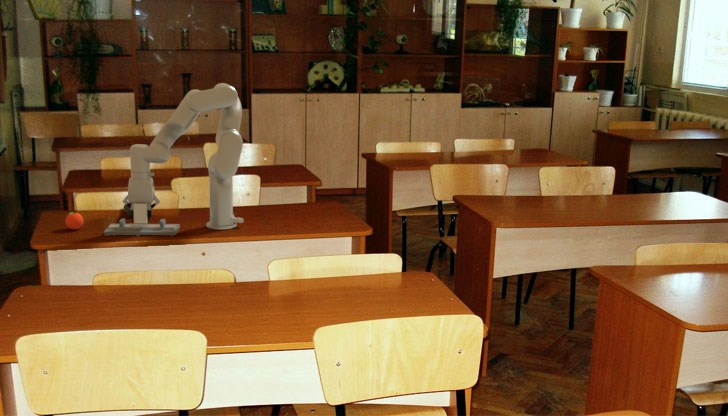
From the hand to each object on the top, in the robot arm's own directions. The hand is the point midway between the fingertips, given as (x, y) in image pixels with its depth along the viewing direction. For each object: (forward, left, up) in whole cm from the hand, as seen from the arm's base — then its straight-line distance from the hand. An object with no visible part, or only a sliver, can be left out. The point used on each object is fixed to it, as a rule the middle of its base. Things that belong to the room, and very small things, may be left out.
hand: (141, 218), depth 305 cm
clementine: (+28, -3, -6) cm, 29 cm away
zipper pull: (+8, -29, -6) cm, 31 cm away
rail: (0, 0, -4) cm, 4 cm away
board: (0, 0, -5) cm, 5 cm away
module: (0, 0, -1) cm, 1 cm away
